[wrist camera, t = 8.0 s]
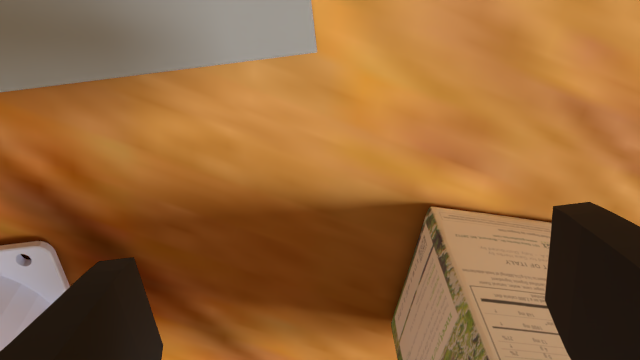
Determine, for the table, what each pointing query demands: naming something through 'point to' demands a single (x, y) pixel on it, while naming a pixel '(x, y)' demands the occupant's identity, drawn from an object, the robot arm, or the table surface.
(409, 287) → the syrup box
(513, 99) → the table surface
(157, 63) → the board
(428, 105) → the table surface
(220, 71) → the table surface
